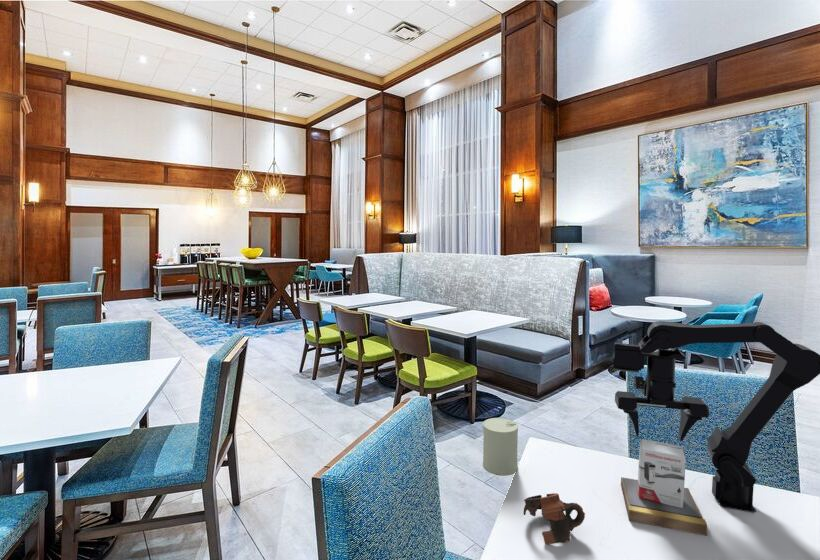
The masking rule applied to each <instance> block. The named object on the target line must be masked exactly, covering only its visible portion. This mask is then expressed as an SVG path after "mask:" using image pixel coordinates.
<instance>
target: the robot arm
mask: <svg viewBox="0 0 820 560" xmlns="http://www.w3.org/2000/svg"><path fill="white" fill-rule="evenodd" d="M721 343H722V344H728V343H729V344H731V343H735V344H736V343H740V344H741V343H759V344H762V345H764V346H765V347H766V348H767V349H769V350H770V351H772V352H773V353H774V354H776V355H775V357H774V358H773V361H772V364H771V368H770V372H769V376H768V378H767V379H766V381H765V382H764V383H763V385H762V386H761V387H760V388H759V389H758V391H756V393H755V395H753V397H752V398H751V400H749V402H748V404H747V405H746V406H745V407H744V409H743V410H742V412H741V413H740V414H739V415H738V416H737V417H736V419H735V420H734V422H733V423H732V424H731V426H729V427H727V428H725V429H723V430H722V429H721V428H720V427H718V426H716V427H715V428H714V430H713V432H712V434H711V435H710V436H707V437H706V439H705V440H706V442H707V443H706V446H705V447H706V451H707V454H708V456H709V458H710V461H711V463H712V464H713V466H714V468H715V475H713V476H712V479H711V480H712V481H711V482H712V484H711V493H712V496H713V497H714V498H715V500H716V501H717V503H718V504H719V506H720V507H723V508H728V509H734V510H739V511H744V512H751V513H756V512H757V510H756V508H755V507H754V505H753V504H754V502H753V501H754V488H755V487H754V485H755V484H756V482H757V478H756V477H755V475H754V473H753V471H752V470H751V468H750V467H749V465H748V463H747V460H748V459H749V456H750V452H751V447H752V443H753V442H754V440H755V439H756V438H757V437H758V435H759V434H760V433H761V431H762V430H763V429H764V428H765V427H766V426H767V424H768V423H769V422H770V421H771V419H772V418H773V417H774V415H776V413H777V412H778V410H779V409H780V408H781V407H782V406H783V404H784V403H785V402H786V401H787V399H789V397H790V396H791V394H793V392H794V391H796V390H798V389H800V388H802V387H804V386H806V385H808V384H809V383H810V382H812V381H813V380H814V379H816V378H818V376H820V354H819V353H817V352H816V351H814V350H813V349H810V348H809V347H807V346H805V345H803V344H799V343H793V342H792V341H791V340H789V339H788V338H786V337H785V336H783V335H782V334H780V333H779V332H778V331H776V330H775V329H774V327H772V326H771V325H769V324H767V323H764V322H760V321H756V322H751V323H749V322H747V323H724V324H723V323H721V324H720V323H718V324H717V323H716V324H685V323H680V322H673V321H666V320H665V321H664V320H656V321H653V322H652V323H651V324H650V325H649V326H648V329H647V334H645V336H644V337H643V338H642V339H641V340H640V341H639V342H638V344H632V343H631V344H630V343H624V342H623V343H622V342H614V352H613V359H612V362H613V365H612V368H613V369H612V370H613V371H620V372H629V373H637V374H639V372H641V371H642V370H644V369H645V357H646V358H647V359H646V361H647V363H646V376H645V379H644V377H643V376H639V375H638V376H637V375H636V376H633V388H634V390H641V394H642V395H643V396H644V397H639V396H638V397H637V396H635V394H634V392H633V391H632V392H631V391H624V390H618V391H616V392H615V393H614V403H615V405H616V406H617V407H616V408H617V409H618V410H622V411H623V413H625V414H628V415H629V418H630V421H631V425H632V427H633V430H634V434H635V436H636V437H639V434H640V429H639V428H640V427H639V411H638V410H637V408H638V407H639V406H640V407H650V408H651V407H653V408H662V409H673V410H680V411H679V412H680V421H679V429H678V441H679V442H683V440H684V439H685V437H686V436H687V434H688V433H689V431H690V430H691V428H692V427H693V426H694V425H695V424H696V423H697V422H698V421H702V420H703V418H704V419H705V418H709V417H710V408H709V406H708V405H707V404H706V403H705V402H704V401H703V400H702V399H701V398H700V397H693V396H691V397H690V396H682V397H681V400H675V388H676V382H675V379H676V378H675V376H676V360H686V356H685V354H684V352H682V351H680V349H679V348H682V347H686V346H689V345H695V344H721Z"/></svg>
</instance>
